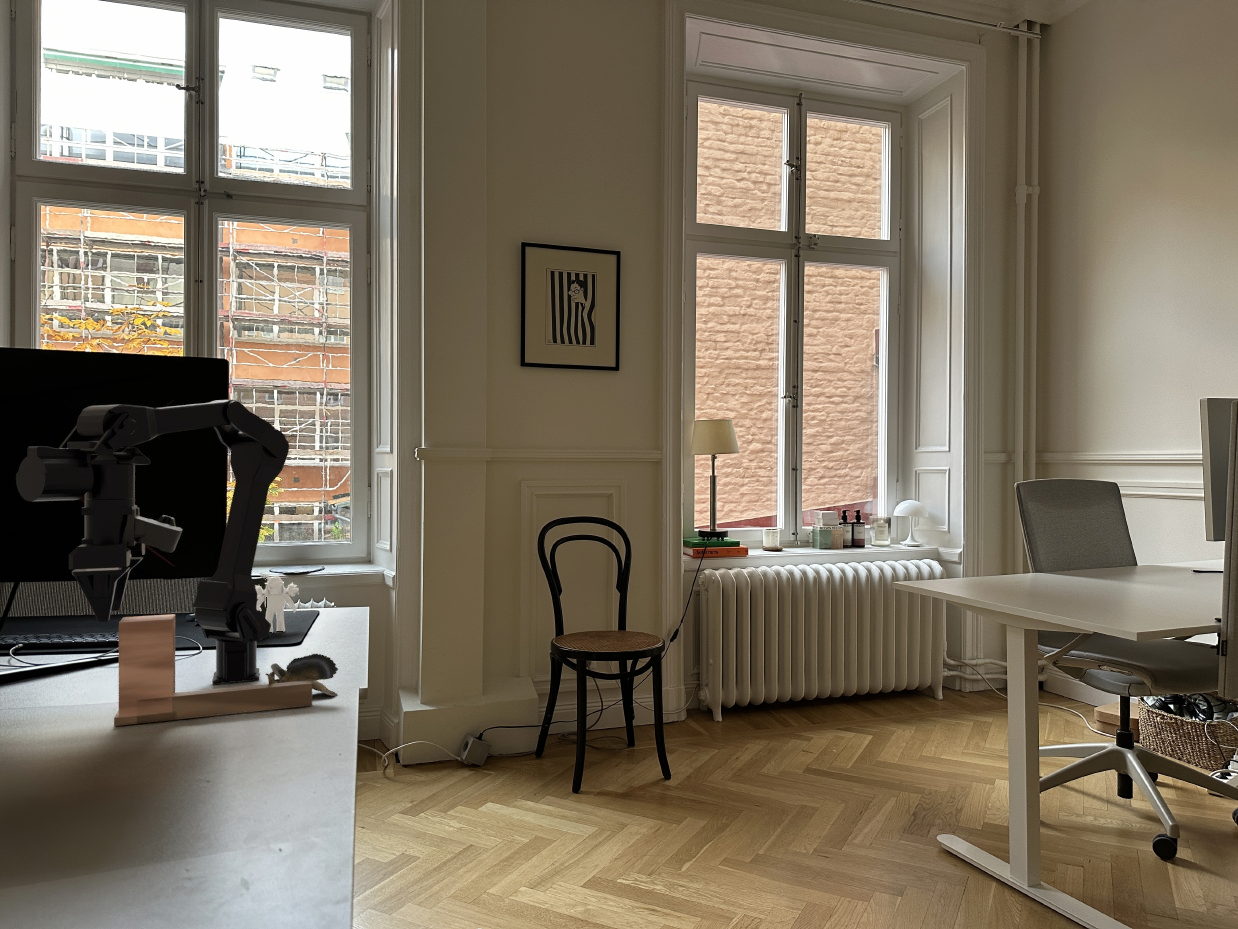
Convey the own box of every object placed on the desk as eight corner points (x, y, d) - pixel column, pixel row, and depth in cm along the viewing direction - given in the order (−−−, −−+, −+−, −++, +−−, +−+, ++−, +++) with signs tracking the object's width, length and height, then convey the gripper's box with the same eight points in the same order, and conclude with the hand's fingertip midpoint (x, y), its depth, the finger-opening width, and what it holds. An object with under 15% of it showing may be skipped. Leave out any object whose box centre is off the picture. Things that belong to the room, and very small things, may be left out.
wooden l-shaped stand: (125, 705, 115) (126, 610, 115) (308, 687, 124) (308, 599, 124) (114, 726, 106) (114, 622, 106) (312, 705, 115) (312, 610, 115)
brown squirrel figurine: (274, 703, 112) (342, 683, 117) (262, 655, 115) (329, 636, 120) (274, 721, 118) (339, 700, 123) (262, 674, 121) (326, 656, 126)
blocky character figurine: (250, 635, 164) (250, 573, 164) (249, 631, 168) (250, 571, 168) (299, 631, 168) (300, 571, 168) (298, 627, 172) (298, 569, 172)
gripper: (171, 500, 107) (170, 623, 106) (184, 496, 124) (183, 602, 124) (67, 501, 102) (67, 630, 102) (96, 497, 119) (95, 607, 119)
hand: (109, 616), depth 112 cm, fingers open, 9 cm apart
